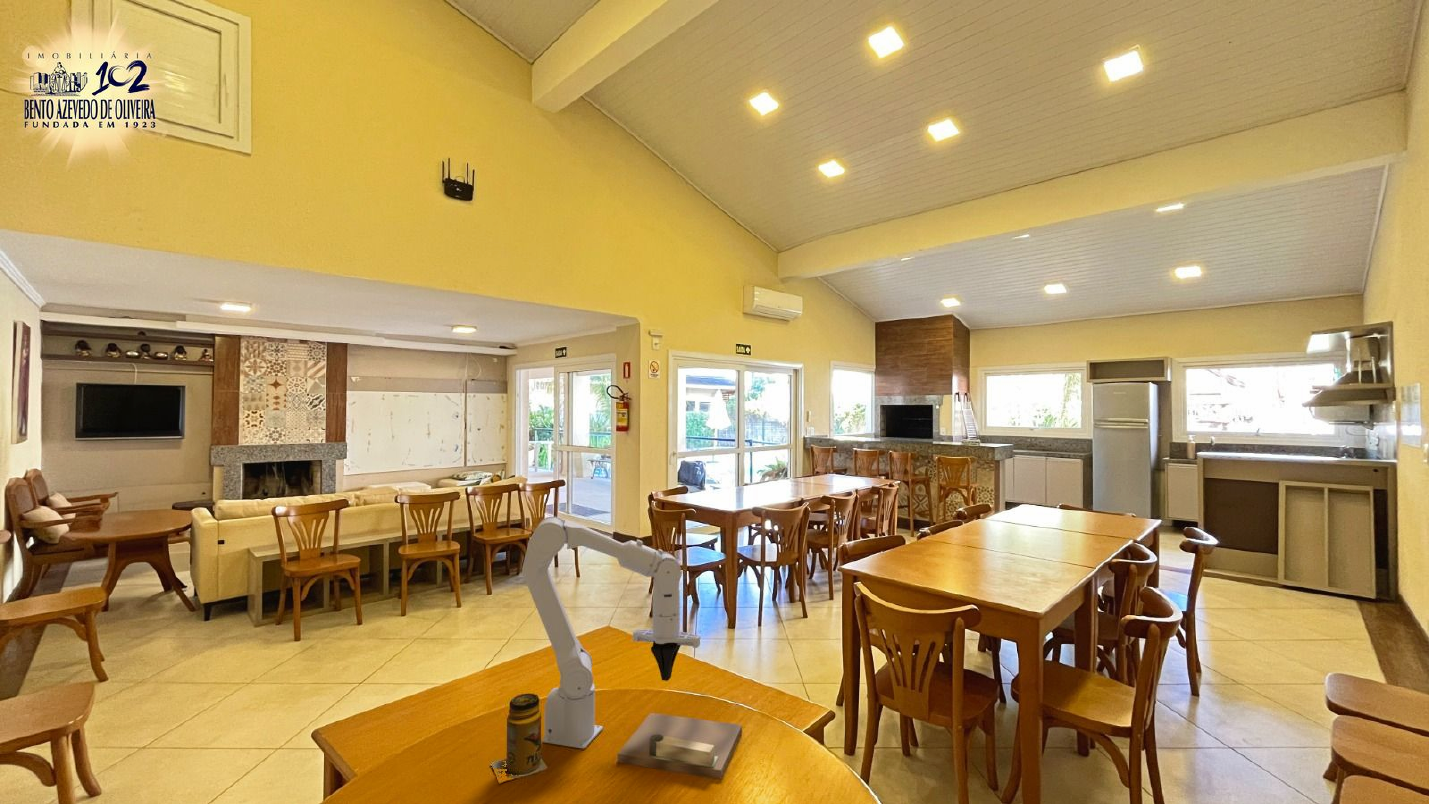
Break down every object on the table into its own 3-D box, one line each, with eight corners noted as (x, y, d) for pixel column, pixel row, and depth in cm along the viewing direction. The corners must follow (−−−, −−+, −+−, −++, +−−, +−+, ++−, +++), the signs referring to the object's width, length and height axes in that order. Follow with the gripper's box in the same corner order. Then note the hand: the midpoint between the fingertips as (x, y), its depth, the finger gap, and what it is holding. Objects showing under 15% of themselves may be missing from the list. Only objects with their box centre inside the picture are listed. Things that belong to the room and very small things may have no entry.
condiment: (547, 769, 101) (548, 701, 102) (498, 785, 97) (499, 714, 97) (536, 750, 107) (536, 686, 108) (489, 765, 103) (491, 698, 103)
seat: (617, 762, 103) (617, 752, 103) (650, 720, 118) (650, 711, 118) (721, 779, 97) (721, 769, 98) (742, 732, 113) (741, 724, 113)
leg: (647, 754, 102) (647, 740, 102) (653, 746, 105) (653, 733, 105) (709, 766, 98) (709, 752, 98) (714, 758, 101) (714, 745, 101)
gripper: (626, 615, 116) (626, 682, 115) (692, 621, 112) (692, 691, 111) (640, 605, 123) (640, 669, 122) (703, 611, 119) (703, 676, 118)
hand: (666, 678), depth 117 cm, fingers closed
